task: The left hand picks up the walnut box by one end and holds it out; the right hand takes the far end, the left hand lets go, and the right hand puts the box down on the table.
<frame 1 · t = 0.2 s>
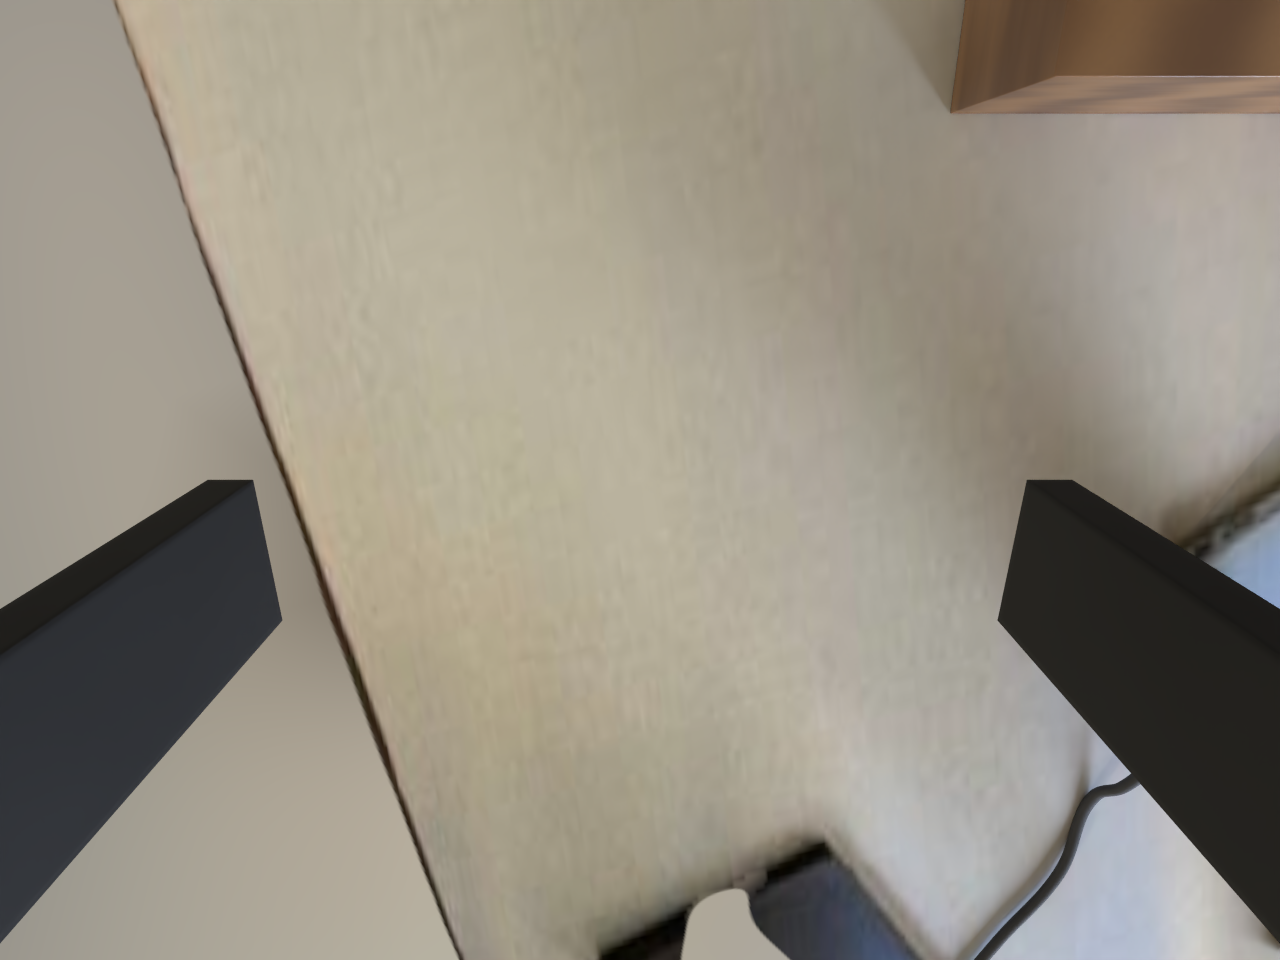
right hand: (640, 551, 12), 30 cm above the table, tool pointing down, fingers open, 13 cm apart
box: (1183, 48, 36), on the table
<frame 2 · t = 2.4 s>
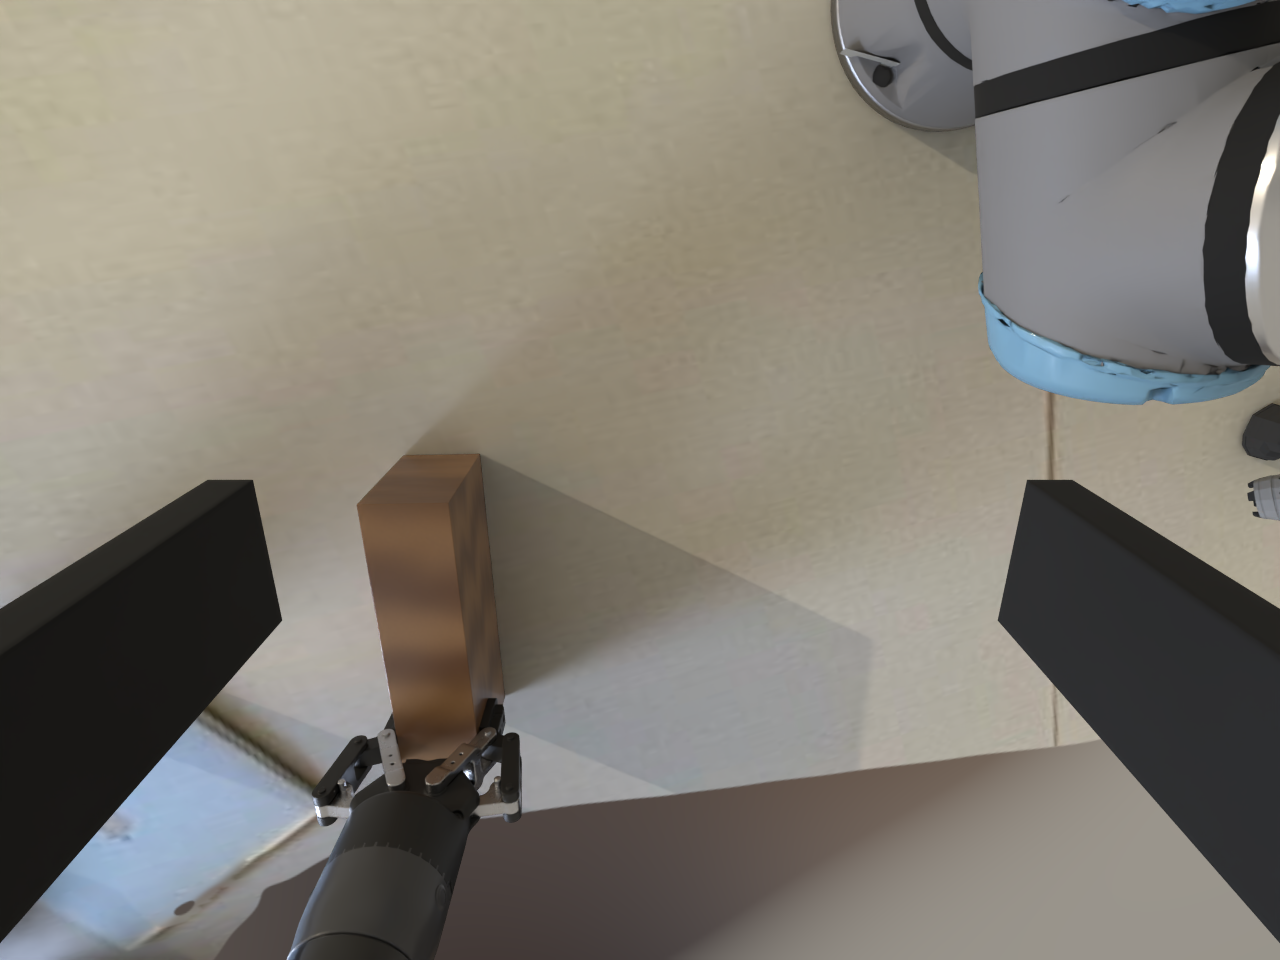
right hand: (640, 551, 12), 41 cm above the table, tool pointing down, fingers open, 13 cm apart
box: (457, 584, 58), on the table, touching left hand
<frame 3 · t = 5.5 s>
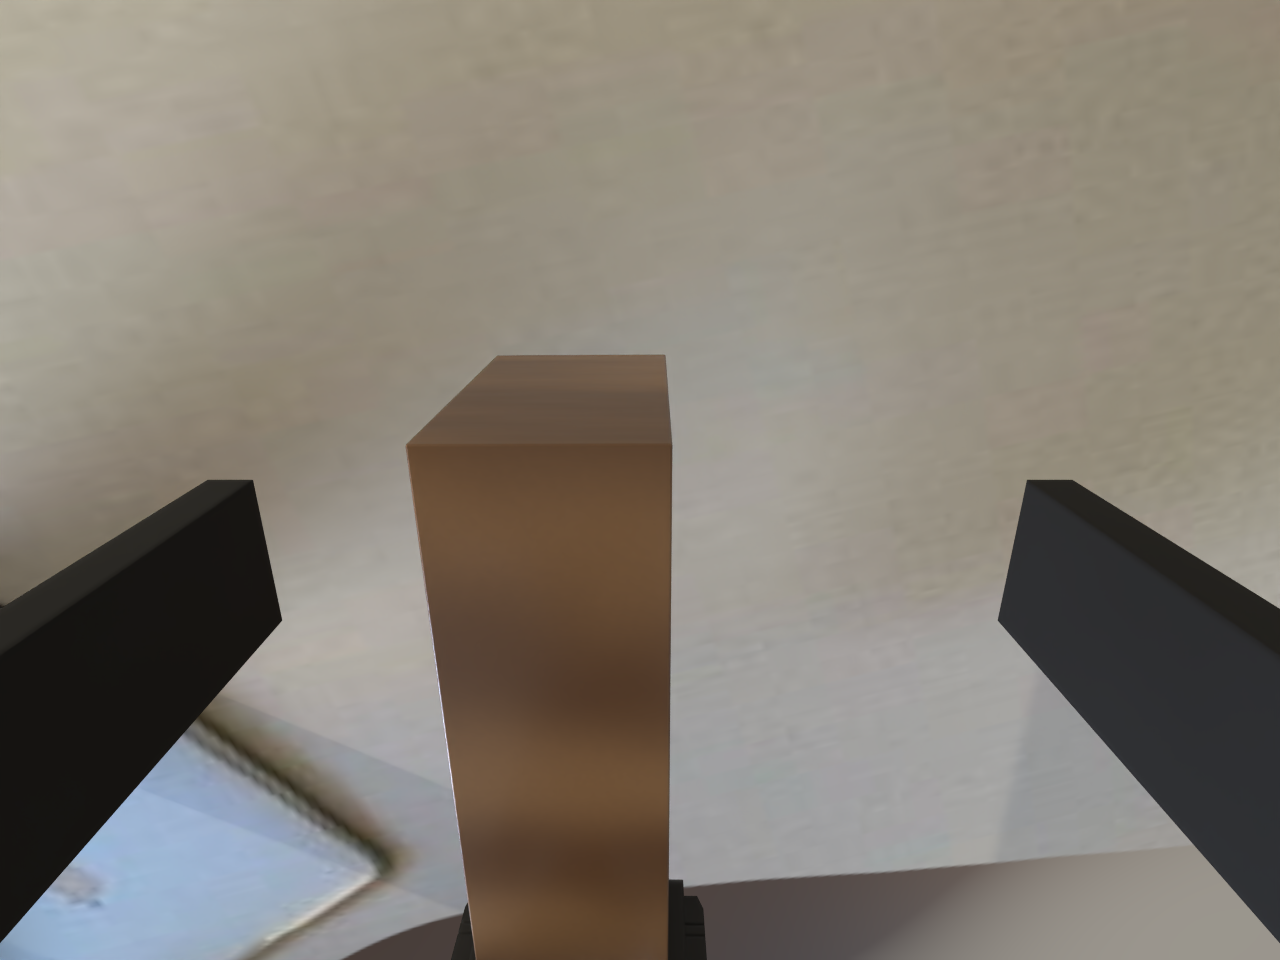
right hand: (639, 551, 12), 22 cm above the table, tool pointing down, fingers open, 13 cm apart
box: (591, 631, 29), point 8 cm above the table, touching left hand
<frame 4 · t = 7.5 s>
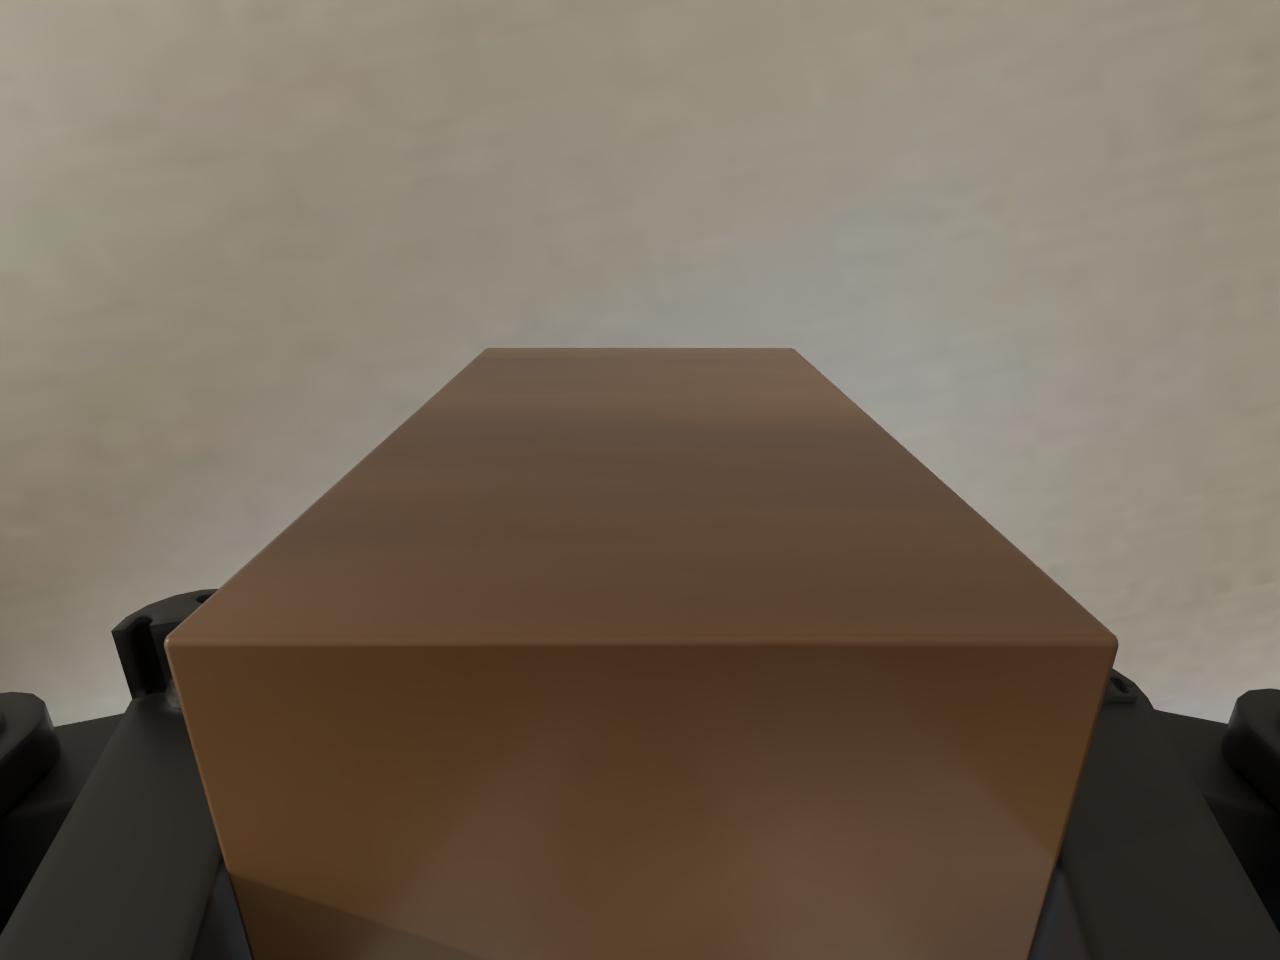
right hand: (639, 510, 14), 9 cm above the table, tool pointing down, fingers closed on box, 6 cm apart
box: (639, 804, 18), point 8 cm above the table, touching right hand, left hand
when the left hand's fingers open (13 cm above the table, at t = 8.3 s): box stays where it is, held by the right hand.
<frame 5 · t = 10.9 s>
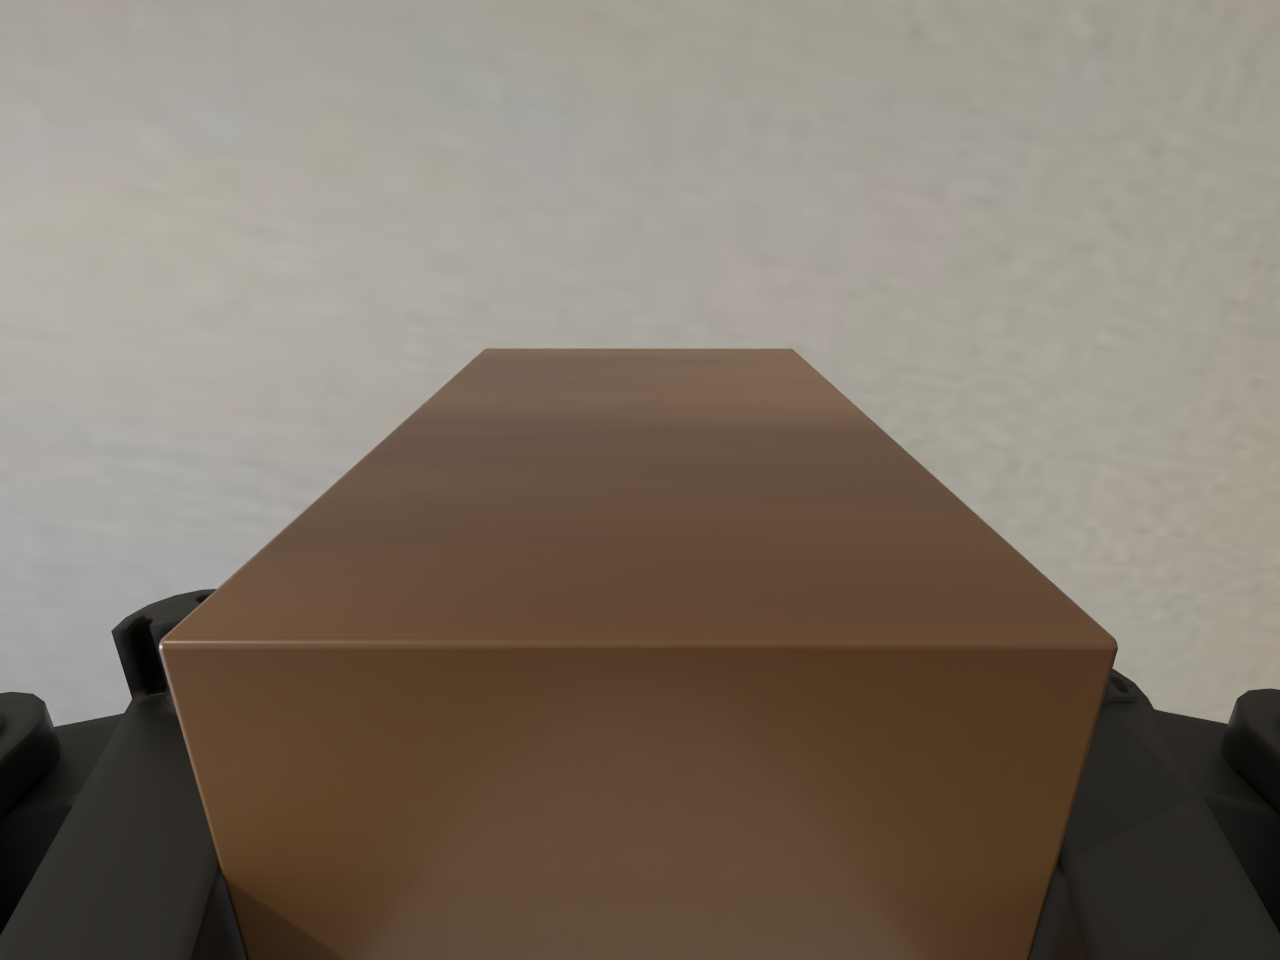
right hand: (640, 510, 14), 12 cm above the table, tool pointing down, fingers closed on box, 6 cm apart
box: (638, 805, 17), point 11 cm above the table, touching right hand
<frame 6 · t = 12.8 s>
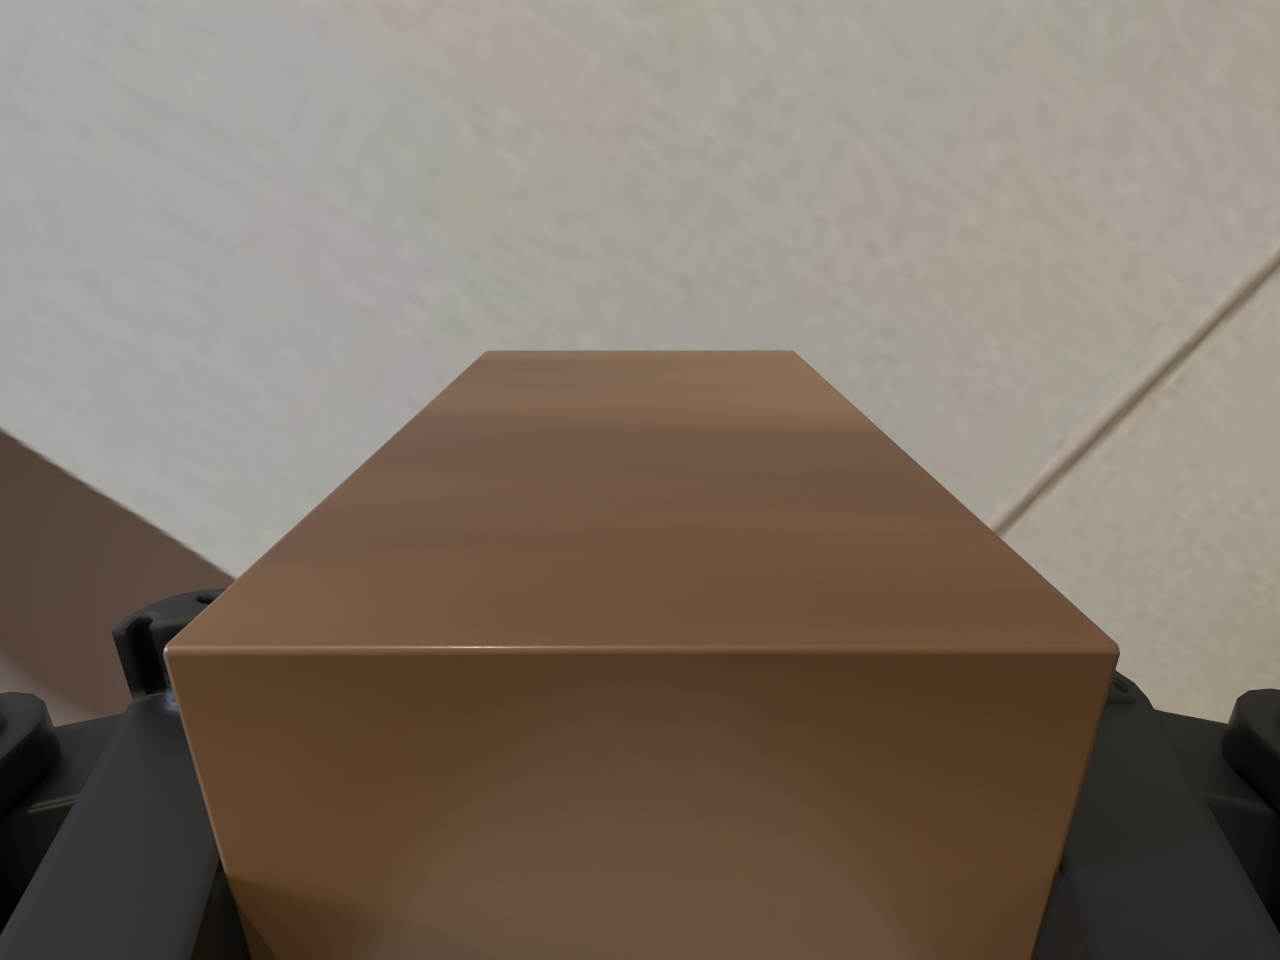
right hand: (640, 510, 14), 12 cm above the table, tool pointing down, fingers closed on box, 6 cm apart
box: (639, 807, 17), point 11 cm above the table, touching right hand
when the right hand's fingers open (2 cm above the table, at t = 14.4 s): box stays where it is, on the table.
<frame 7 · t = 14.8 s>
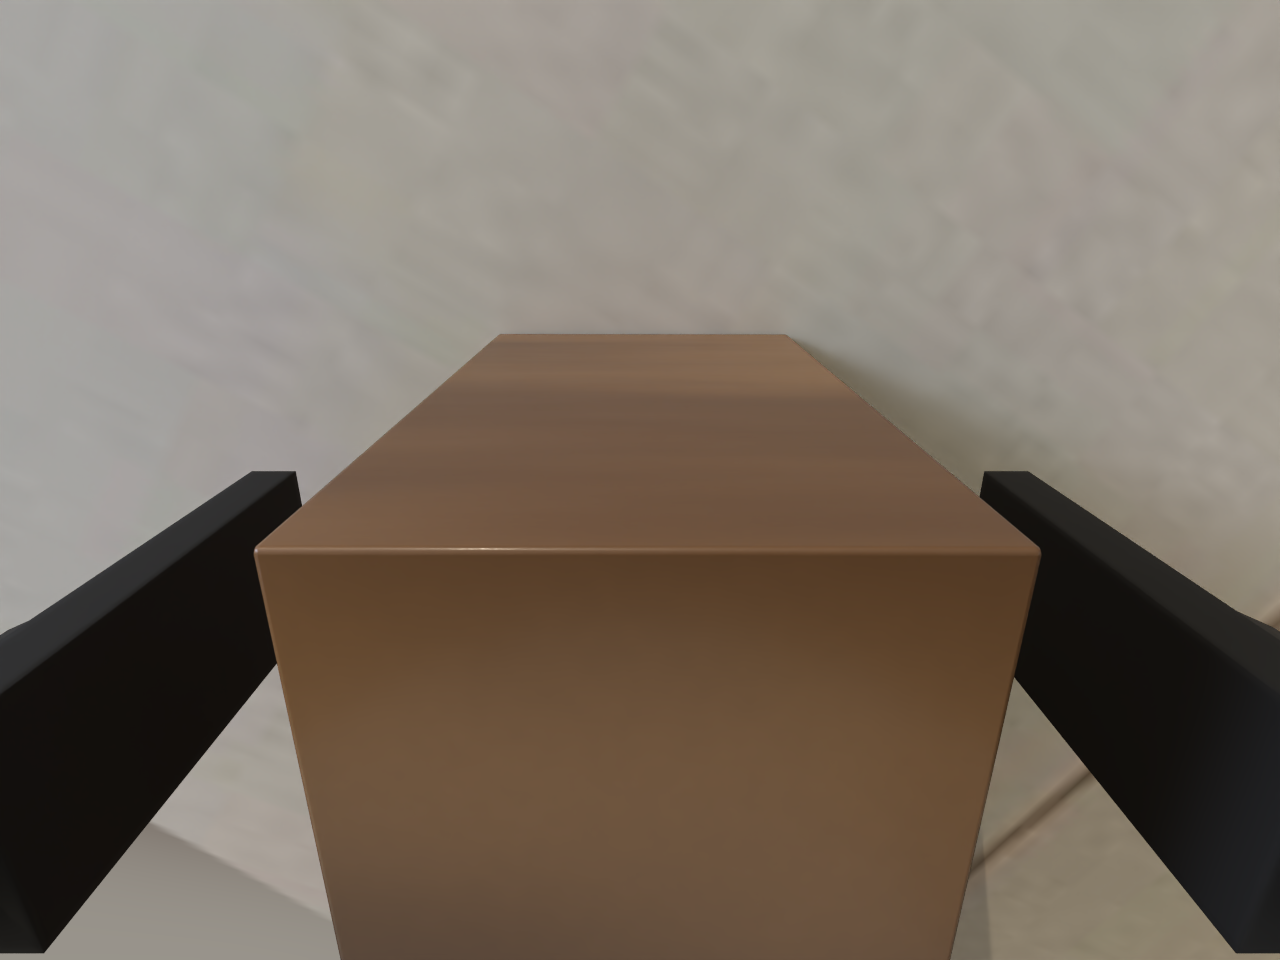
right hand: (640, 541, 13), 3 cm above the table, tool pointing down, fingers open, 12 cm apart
box: (641, 771, 18), on the table
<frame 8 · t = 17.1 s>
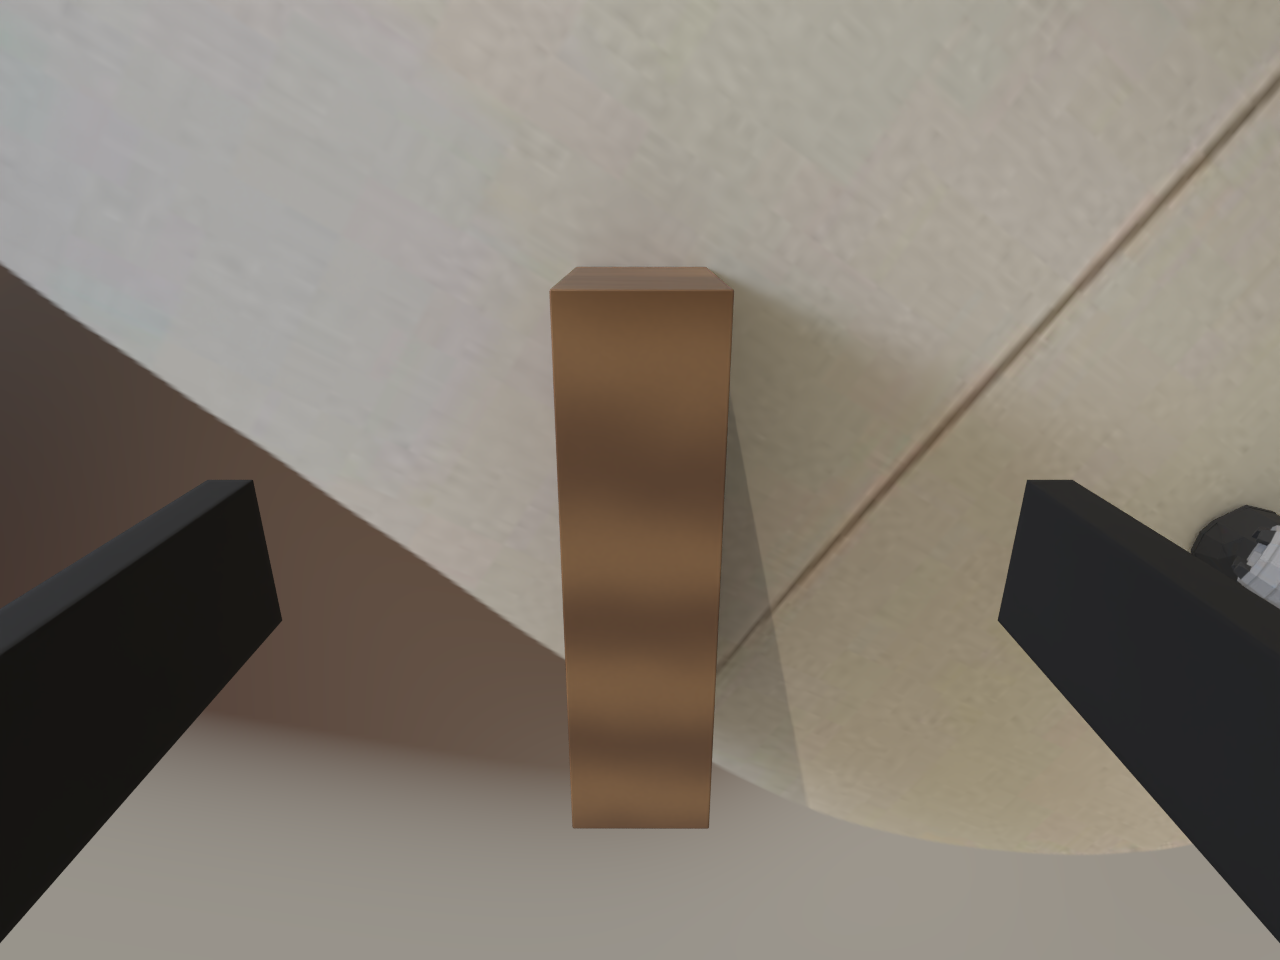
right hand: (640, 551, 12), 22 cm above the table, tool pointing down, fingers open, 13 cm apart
box: (640, 500, 36), on the table
robot: (1260, 557, 37), on the table
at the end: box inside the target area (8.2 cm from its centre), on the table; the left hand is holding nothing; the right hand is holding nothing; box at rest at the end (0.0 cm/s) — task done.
